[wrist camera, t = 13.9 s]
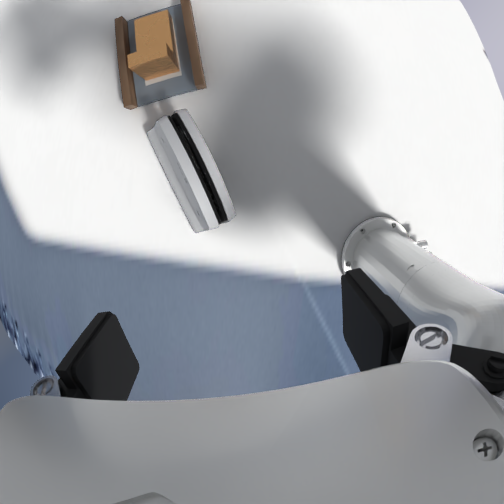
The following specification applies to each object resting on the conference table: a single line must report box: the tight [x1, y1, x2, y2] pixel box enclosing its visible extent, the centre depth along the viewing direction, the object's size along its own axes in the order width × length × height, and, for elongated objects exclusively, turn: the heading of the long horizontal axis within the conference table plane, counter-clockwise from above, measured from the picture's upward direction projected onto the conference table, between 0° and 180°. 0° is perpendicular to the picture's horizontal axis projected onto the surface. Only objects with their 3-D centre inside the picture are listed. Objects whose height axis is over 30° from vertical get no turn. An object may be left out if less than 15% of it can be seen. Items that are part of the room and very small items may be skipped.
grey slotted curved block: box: [147, 109, 236, 233], centre depth 34 cm, size 17×5×10 cm, turn 24°
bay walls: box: [115, 0, 206, 110], centre depth 30 cm, size 11×16×2 cm
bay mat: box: [128, 4, 197, 107], centre depth 31 cm, size 9×16×1 cm, turn 11°
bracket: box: [127, 10, 180, 81], centre depth 27 cm, size 10×5×7 cm, turn 10°
